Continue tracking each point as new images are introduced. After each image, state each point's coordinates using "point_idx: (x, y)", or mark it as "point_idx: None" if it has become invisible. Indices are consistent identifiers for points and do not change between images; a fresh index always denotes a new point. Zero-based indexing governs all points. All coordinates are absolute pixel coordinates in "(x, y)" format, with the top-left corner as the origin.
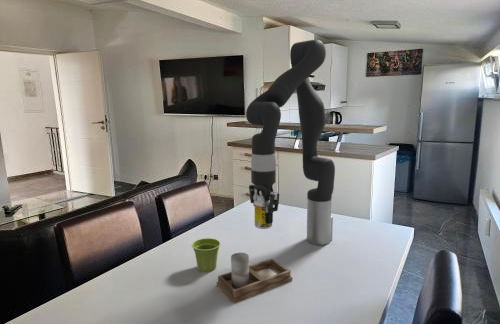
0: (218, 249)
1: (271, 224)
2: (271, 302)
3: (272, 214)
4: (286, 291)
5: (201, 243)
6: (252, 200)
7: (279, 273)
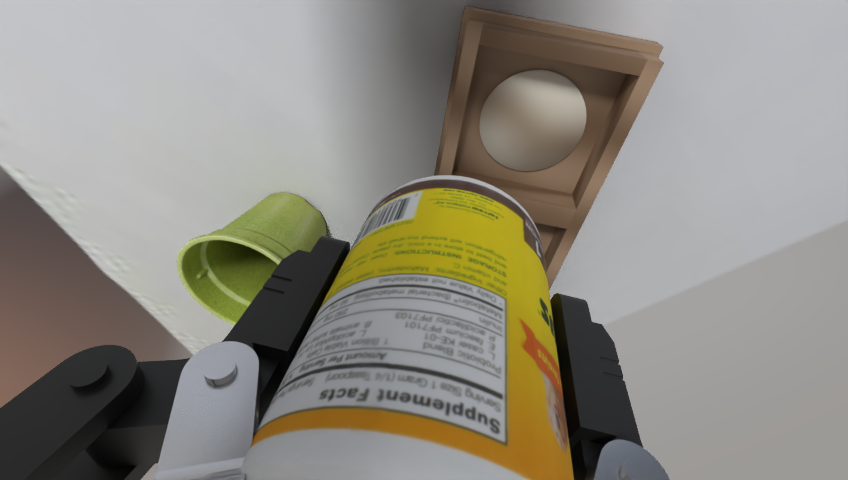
0: (287, 250)
1: (542, 247)
2: (646, 229)
3: (633, 427)
4: (670, 139)
5: (198, 262)
6: (140, 472)
7: (615, 128)
